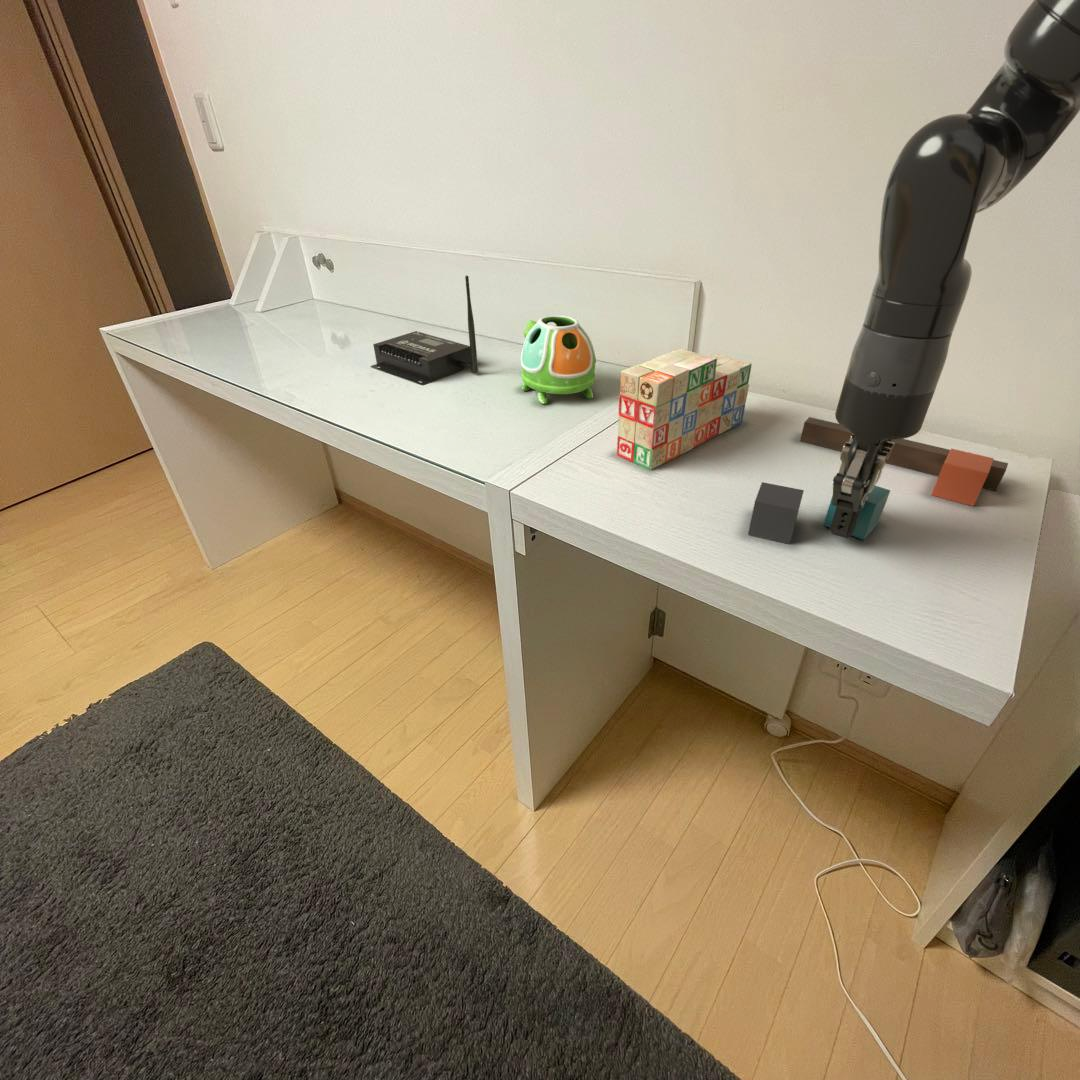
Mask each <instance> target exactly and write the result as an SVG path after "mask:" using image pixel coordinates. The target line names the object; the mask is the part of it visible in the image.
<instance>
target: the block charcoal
mask: <svg viewBox="0 0 1080 1080" xmlns="http://www.w3.org/2000/svg"><path fill="white" fill-rule="evenodd" d="M804 492H805V490H804V489H799V488H794V487H789V486H786V485H785V486H783V485H779V484H774V483H769V482H763V481H762V482H761V484H760V486H759V489H758V491H757V494H756V497H755V500H754V503H753V508H752V512H751V513H752V514H751V518H750V523H749V526H748V527H749V528H748V532H747V535H748V536H751V537H756V538H760V539H764V540H767V541H768V540H769V541H773V542H778V543H782V544H787V545H791V541H792V538H793V533H794V530H795V526H796V522H797V518H798V514H799V510H800V507H801V502H802V499H803V495H804Z"/></svg>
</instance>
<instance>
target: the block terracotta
mask: <svg viewBox="0 0 1080 1080" xmlns="http://www.w3.org/2000/svg"><path fill="white" fill-rule="evenodd" d="M949 450H950V452H949V454H948V456H947V458H946V460H945V462H944V464H943V467H942V469H941V472H940V474H939V476H937V479H936V481H935V484H934V487H933V489H932V491H931V494H930V495H931V496H933V497H937V498H941V499H945V500H948V501H952V502H956V503H960V504H963V505H967V506H970V507H974V506H975V504H976V502H977V499H978V498H979V495H980V493H981V491H982V489H983V485H984V482H985V480H986V478H987V476H988V474H989V471H990V468H991V465H992V462H993V460H995V458H994V457H990V456H986V455H981V454H976V453H972V452H968V451H964V450H960V449H955V448H950V449H949Z"/></svg>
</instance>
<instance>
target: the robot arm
mask: <svg viewBox="0 0 1080 1080" xmlns="http://www.w3.org/2000/svg"><path fill="white" fill-rule="evenodd" d="M1003 58H1004V61H1003V63H1002V65H1001V66H1000V68H999V69H998V70H997V72H996V73H995V74H994V76H992V78H991V80H990V81H989V83H988V84H987V86H986V87H985V88H984V89H983V91H982V92H981V94H979V96H978V97H977V99H976V100H975V101H974V102H973V104H972V105H971V106H970V107H969V109H968V110H967V111H966V112H965V113H953V114H947V115H944V116H941V117H938V118H936V119H933V120H931V121H929V122H928V123H926V124H924V125H923V126H922V127H920V128H919V129H918V130H916V132H915V133H914V134H913V135H912V136H910V138H909V139H908V140H907V142H905V144H904V145H903V147H902V148H901V149H900V152H899V153H898V155H897V157H896V159H895V161H894V163H893V165H892V168H891V170H890V173H889V175H888V179H887V181H886V185H885V188H884V189H885V190H884V194H883V198H882V206H881V214H880V215H881V216H880V226H879V227H880V228H879V237H878V238H879V239H878V270H877V271H878V272H877V276H876V279H875V281H874V285H873V288H872V291H871V294H870V298H869V300H868V301H869V302H868V304H867V309H866V311H865V316H864V319H863V323H862V326H861V329H860V331H859V334H858V336H857V338H856V341H855V343H854V345H853V348H852V351H851V355H850V358H849V362H848V366H847V369H846V373H845V377H844V380H843V384H842V389H841V392H840V395H839V398H838V403H837V406H836V408H835V413H834V415H835V421H836V422H837V424H840V425H841V426H842V427H844V428H845V429H846V428H847V429H848V430H849V431H851V432H852V433H853V434H852V435H851V438H850V441H849V443H848V442H846V443H845V444H844V446H843V449H842V452H841V453H840V457H839V460H840V461H841V463H840V466H839V470H838V472H837V473H836V475H834V477H833V479H832V482H833V483H832V496H833V500H832V505H833V506H837V507H836V510H835V513H834V517H833V520H832V523H831V526H830V527H829V532H830V534H832V535H835V536H838V537H842V538H846V539H849V538H851V537H852V534H853V532H854V530H855V528H856V525H857V522H858V519H859V516H860V513H861V510H862V507H864V505H865V502H866V500H867V501H868V498H869V496H868V495H869V493H871V492H872V490H873V488H874V487H875V486H877V485H876V484H878V482H879V481H880V480H881V477H882V474H883V471H884V468H885V465H886V464H887V463H886V460H887V459H888V458H889V457H890V455H891V454H892V451H893V448H894V445H895V443H893V442H892V439H893V440H894V439H908V438H911V437H913V436H916V435H917V434H918V433H919V432H920V431H921V430H922V427H923V425H924V422H925V419H926V417H927V413H928V410H929V408H930V405H931V402H932V400H933V397H934V395H935V392H936V389H937V387H938V383H939V381H940V378H941V375H942V373H943V371H944V367H945V364H946V362H947V357H948V353H949V349H950V343H951V339H952V336H953V333H954V330H955V327H956V324H957V322H958V320H959V319H958V318H959V317H960V313H961V310H962V308H963V305H964V302H965V300H966V297H967V294H968V290H969V287H970V284H971V280H972V273H973V272H972V266H971V264H970V262H969V261H968V260H967V259H965V255H966V251H967V247H968V244H969V239H970V236H971V232H972V229H973V226H974V225H973V224H974V221H975V217H976V215H977V214H980V213H982V212H984V211H986V210H988V209H990V208H992V207H993V206H995V205H996V204H997V203H999V202H1000V201H1001V200H1003V199H1004V198H1005V197H1006V196H1008V194H1010V192H1012V191H1013V190H1014V189H1015V188H1016V187H1017V186H1018V185H1019V184H1020V183H1022V182H1023V180H1024V179H1025V178H1026V177H1027V176H1028V175H1029V174H1030V173H1031V172H1032V171H1033V170H1034V168H1035V167H1036V166H1037V165H1038V164H1039V163H1040V162H1041V160H1042V159H1043V158H1044V157H1045V155H1046V154H1047V153H1048V152H1049V151H1050V149H1051V148H1052V147H1053V146H1054V144H1055V143H1056V142H1057V141H1058V139H1059V138H1060V137H1061V136H1062V134H1063V133H1064V132H1065V131H1066V129H1067V128H1068V127H1069V125H1071V123H1072V122H1073V120H1074V119H1075V118H1076V117H1077V115H1078V114H1079V113H1080V0H1033V1H1032V2H1031V3H1030V4H1029V6H1028V7H1027V8H1026V10H1025V11H1024V12H1023V14H1022V15H1021V16H1020V18H1019V19H1018V20H1017V22H1016V23H1015V25H1014V26H1013V28H1012V29H1011V31H1010V33H1009V35H1008V36H1007V38H1006V40H1005V44H1004V47H1003Z"/></svg>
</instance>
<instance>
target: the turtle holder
mask: <svg viewBox="0 0 1080 1080" xmlns="http://www.w3.org/2000/svg"><path fill="white" fill-rule="evenodd" d="M549 323H553V324H555V325H550V324H549ZM523 336H524V342H523V345H522V349H521V354H520V365H521V376H520V377H521V379H522V382H523V384H522V386H521V390H522V391H524V392H526V391H529V390H530V389H532V390H534V391H536V400H537V402H538V403H539V404H541V405H546V404H548V398H547V394H551V395H570V394H577V393H581V392H582V393H583V395H584V397H585V399H593V398H594V391H593V390H592V388H591V387H592V386H593V385H594V383H595V380H596V363H597V357H596V351H595V348H594V345H593V341H592V340H591V337H590V336H589V334H588V333H587V332H586V330H585V329H584V328H583V327H582V326H581V324H580V323H579V321H578V320H577V319H576V318H574V317H572V316H568V315H561V314H559V315H546V316H542V317H539V319H538V321H537V322H536V321H535V320H528V322H526V327H525V329H524V330H523Z"/></svg>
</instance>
